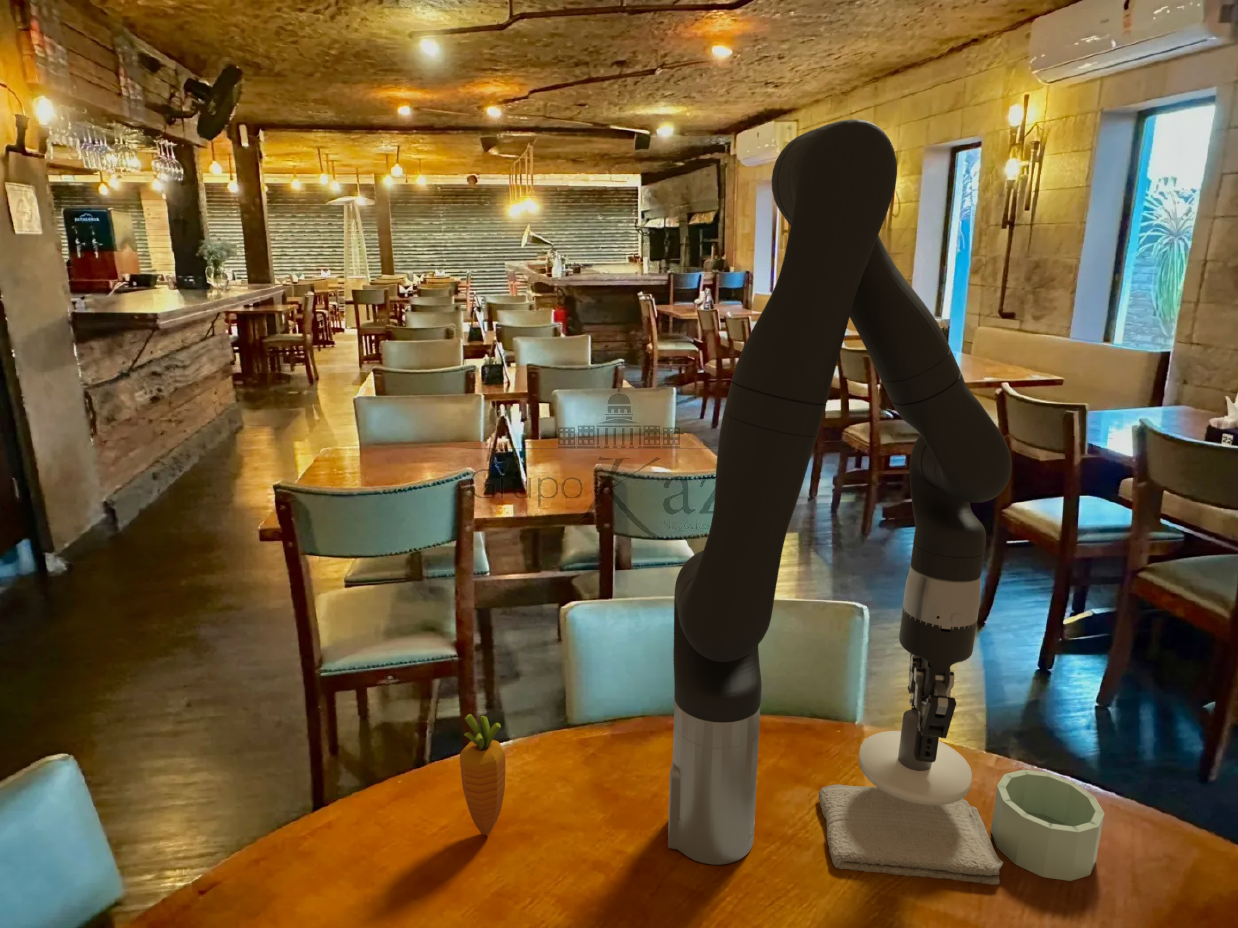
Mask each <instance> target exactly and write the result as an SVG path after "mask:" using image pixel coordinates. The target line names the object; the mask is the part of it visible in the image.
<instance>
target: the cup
mask: <svg viewBox="0 0 1238 928" xmlns="http://www.w3.org/2000/svg"><path fill="white" fill-rule="evenodd" d="M995 792H996V793H995V797H994V798H995V799H994V800H995V801H994V804H993V807H994V808H993V814H992V819H991V820H992V821H991V826H990V827H991V829H990V833H991V835H992V839H993V841H994V844H995V847H996V848H997V849H998V851H1000V852H1001V853H1002V854H1003V855H1004V856H1006V857H1007V858H1008V859H1009V860H1010V861H1011V862H1012V863H1014V864H1015V865H1016V866H1018V867H1020V868H1022V869H1025V870H1027V871H1028V872H1031V873H1033V874H1035V875H1037V876H1039V877H1042V878H1046V879H1055V880H1061V881H1069V882H1072V881H1075V880H1079V879H1081V878H1085V877H1089V876H1091V873H1092V872H1093V869H1094V867H1095V864H1096V862H1097V857H1098V853H1099V852H1098V851H1099V846H1100V841H1101V835H1102V829H1103V824H1104V818H1105V812H1104V810H1103V808H1102V807H1101V805H1100V804H1099V802H1098V800H1097V798H1096V797H1095V796H1094V795H1092V794H1091V793H1090V792H1089V791H1087V790H1086V789H1084V788H1083V787H1082V786H1080V785H1079V784H1077V783H1076V782H1074V781H1072V780H1069V779H1066V778H1064V777H1061V776H1058V775H1056V774H1053V773H1051V772H1048V771H1037V770H1030V769H1020V770H1016V771H1012V772H1009V773H1008V772H1007V773H1005V774H1003V776H1002V777H1001V779H1000V781H999V782H998V784H997V785H996V791H995Z"/></svg>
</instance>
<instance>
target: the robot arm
mask: <svg viewBox="0 0 1238 928" xmlns="http://www.w3.org/2000/svg"><path fill="white" fill-rule="evenodd" d="M897 163H898V161H897V156H896V152H895V149H894V146H893V143H892V141H891V140H890V138H889V137H888V135H887V134H886V133H885V131H884V130H883V129H881V127H879V126H878V125H876V124H875V123H873V122H871V121H867V120H865V119H856V118H855V119H851V118H850V119H844V120H839V121H834V122H832V123H828V124H825V125H822V126H820V127H816V128H815V129H811V130H809V131H806V132H805V133H802V134H800V135H798V136H796V137H795V138H793V139H792V140H791V141H789V142H788V143H787V144H786V145H785V147H783V149H782V150H781V151H780V153H779V155H778V156H777V158H776V160H775V163H774V166H773V169H772V174H771V192H772V196H773V200H774V202H775V205H776V206H777V208H778V210H779V211H780V213H781V215H782V216H783V218H784V219H785V220H786V222H787V223H788V224H789V226H790V228H789V233H788V237H787V242H786V247H785V251H784V256H783V261H782V263H781V268H780V272H779V275H778V277H777V281H776V283H775V286H774V288H773V291H772V293H771V295H770V296H769V299H768V300H767V302H766V304H765V307H764V308H763V310H762V312H761V314H760V315H759V317H758V319H757V320H756V322H755V324H754V326H753V328H752V329H751V332H750V333H749V335H748V337H747V339H746V341H745V343H744V345H743V348H742V349H741V352H740V354H739V357H738V359H737V363H736V365H735V369H734V372H733V374H732V378H731V382H730V386H729V389H728V393H727V396H726V401H725V405H724V410H723V414H722V417H721V423H720V431H719V437H718V445H717V454H716V455H717V457H716V467H715V482H714V484H715V485H714V486H715V487H714V501H713V510H712V511H713V512H712V517H711V523H710V527H709V531H708V534H707V535H708V536H707V539H706V542H705V544H704V547H703V550H700V551H699V552H697V553H695V554H693V555H692V556H691V557H689V558H688V560H687V561H686V562H684V564H683V565H682V567H681V569H680V570H679V572H678V575H677V577H676V581H675V585H674V598H673V599H674V600H673V654H672V655H673V679H674V680H673V681H674V682H673V683H674V686H673V687H674V693H673V694H674V695H673V697H674V698H673V700H674V701H673V735H672V737H673V740H672V744H673V746H672V761H671V765H670V769H669V778H668V779H669V783H668V784H669V785H668V786H669V787H668V789H669V790H668V826H667V827H668V828H667V830H668V834H667V836H668V839H667V847H668V848H669V849H673V850H678V851H679V852H681V853H682V854H683V855H684V856H686V857H687V858H690V859H692V860H694V861H696V862H699V863H702V864H709V865H727V864H732V863H734V862H738V861H740V860H741V859H743V858H744V857H745V856H746V855H747V854H749V852H750V851H751V849H752V847H753V845H754V841H755V840H754V839H755V828H756V826H755V825H756V823H755V822H756V821H755V819H756V803H757V801H756V799H757V783H758V782H757V778H758V761H759V760H758V758H759V744H760V743H759V741H760V722H761V719H760V717H761V704H762V702H761V701H762V687H763V685H762V675H761V667H760V654H759V653H760V651H759V644H761V642H762V641H763V639H764V638H765V635H766V634H767V632H768V630H769V628H770V624H771V620H772V616H773V615H772V614H773V609H774V602H775V598H776V597H775V596H776V589H777V585H778V584H777V583H778V577H779V572H780V566H781V559H782V555H783V549H784V544H785V540H786V537H787V533H788V529H789V526H790V523H791V520H792V517H793V515H794V512H795V509H796V506H797V502H798V501H799V497H800V494H801V492H802V487H803V484H804V480H805V477H806V474H807V472H808V471H807V470H808V469H809V464H810V460H811V457H812V454H813V451H814V447H815V444H816V442H817V438H818V436H819V433H820V430H821V426H822V421H823V418H824V416H825V415H824V414H825V411H826V408H827V403H828V400H829V396H830V392H831V388H832V383H833V380H834V375H835V372H836V369H837V368H836V367H837V364H838V361H839V357H840V355H841V350H842V347H843V345H844V344H843V343H844V340H845V335H846V333H847V328H848V324H849V320H851V322H852V325H853V326H854V328H855V330H856V331H857V334H858V335H859V338H860V339H861V341H862V343H863V345H864V348H865V349H866V352H867V354H868V356H869V358H870V359H871V362H872V364H873V366H874V369H875V370H876V373H877V375H878V378H879V379H880V381H881V383H882V385H883V387H884V389H885V392H886V394H887V396H888V398H889V400H890V402H891V404H892V406H893V408H894V410H895V411H896V413H897V414H898V416H899V417H900V418H901V419H902V420H903V422H905V423H907V424H908V425H909V426H911V427H912V428H913V429H915V430H916V431H917V432H918V433H919V436H917V438H916V441H915V442H914V444H913V447H912V450H911V453H910V458H909V466H908V470H909V471H908V472H909V473H908V474H909V475H908V476H909V488H910V496H911V497H910V498H911V507H912V514H913V518H914V525H915V526H914V527H915V528H914V535H913V543H912V551H911V557H910V565H909V570H908V575H907V578H906V581H905V586H904V593H903V594H904V595H903V601H902V602H903V603H902V611H901V619H900V627H899V628H900V629H899V635H898V640H899V643H900V645H901V647H902V648H903V649H904V650H905V651H906V652H908V653H909V668H908V669H909V671H908V686H907V691H908V693H909V694H910V698H909V701H908V702H909V704H910V707H911V709H910V710H918V722H917V725H916V726H917V734H916V741H915V749H914V756H915V759H916V760H918V761H923V762H935V760H936V755H937V748H938V741H940V740H939V739H947V736H948V734H949V729H950V727H951V723H952V719H953V717H954V713H955V711H956V707H957V700H956V698H955V697H953V696H951V693H952V690H953V688H954V686H955V672H954V671H951V667H952V665H955V664H957V663H963V662H964V661H967V660H969V659H970V657H971V656H972V654H973V652H974V644H975V638H976V632H977V631H976V630H977V624H978V616H979V609H980V603H981V596H982V595H981V594H982V592H981V591H982V588H981V585H982V582H981V580H982V571H983V565H984V559H985V552H986V545H987V543H986V542H987V533H986V529H985V527H984V524H983V523H982V522H981V521H980V520H979V519H978V518H977V516H976V515H975V513H974V512H973V511H972V508H971V503H985V502H988V501H991V500H993V499H995V498H997V497H998V496H999V495H1000V494H1002V493H1003V491H1004V490H1006V488H1007V486H1008V484H1009V482H1010V480H1011V475H1012V471H1013V470H1012V469H1013V468H1012V467H1013V464H1012V461H1013V460H1012V455H1011V451H1010V448H1009V446H1008V444H1007V441H1006V439H1005V437H1004V435H1003V433H1002V432H1001V430H1000V428H999V427H998V425H996V423H995V422H994V420H993V419H992V417H991V416H990V415H989V413H988V412H987V411H986V409H985V407H984V406H983V404H982V403H981V402H980V401H979V400H978V399H977V397H976V396H975V395H974V393H973V392H972V391H971V390H970V389H969V387H968V386H967V383H966V382H965V378H964V377H963V374H962V371H961V369H960V367H959V365H958V362H957V360H956V357H955V355H954V353H953V351H952V348H951V347H950V344H949V341H948V340H947V338H946V335H945V334H944V332H943V330H942V328H941V326H940V325H939V322H938V321H937V320H936V317H934V314H932V313H931V311H930V310H929V308H928V307H927V305H926V304H925V303H924V301H923V300H922V299H921V298H920V296H919V295H918V293H917V292H916V291H915V289H914V288H913V287H912V285H910V283H909V282H908V281H907V280H906V278H905V277H904V275H903V274H902V273H901V271H900V270H899V268H898V267H897V266H896V264H895V263H894V261H893V259H892V257H891V255H890V254H889V253H888V251H887V249H886V247H885V245H884V244H883V241H882V240H881V237H880V235H879V234H880V231H881V229H882V227H883V224H884V222H885V219H886V216H887V213H888V211H889V209H890V206H891V203H892V200H893V197H894V195H895V190H896V185H897V178H898V165H897Z"/></svg>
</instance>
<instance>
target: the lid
mask: <svg viewBox="0 0 1238 928" xmlns="http://www.w3.org/2000/svg"><path fill="white" fill-rule="evenodd" d="M902 714H903V715H902V722H901V730H889V731H888V730H887V731H881V732H876V733H874V734H871V735H870V736H868V737H867V738H865V739H864V740H863V742H862V743H861V745H860V747H859V756H858V763H859V764H858V765H859V768H860V770H861V772H862V774H863V775H864V776H865V777H866V779H867V780H868V782H870V783H872V785H874V787H878V788H879V789H881V790H883V791H884V792H886V793H888V794H890V795H892V796H894V797H897V798H899V799H902V800H905V801H909V802H912V803H917V804H923V805H946V804H951V803H954V802H957V801H959V800H961V799H964V798H965V797H966V796H967V795H968V794H969V792H970V790H971V784H972V780H973V777H972V776H973V773H972V769H971V766H970V765H969V763H968V761H967V760H966V759H965V757H964V756H963V755H961V754H960V752H958V751H957V750H956V749H954V748H953V747H951V746H950V745H948V744H946V743H944V742H942V741H940V740H939V741H938V748H937V755H936V760H935V762H923V761H918V760H916V759H915V756H914V749H915V741H916V734H917V726H916V725H917V722H918V710H911V709H908V710H906V711H904V712H903V713H902Z"/></svg>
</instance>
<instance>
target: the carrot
mask: <svg viewBox="0 0 1238 928" xmlns="http://www.w3.org/2000/svg"><path fill="white" fill-rule="evenodd" d="M479 720H480V723H481V727H482V729H481V727H480V725H479V723H478V721H477V720H476V718H475V717H474V716H473V714H472V713H469V714H467V715H466V716H465V717H464V721H465V722H466V724H467V725H468V726H469V728H470V729H471V730H472V732H473V734H472V733H471V732H470V731H468V732H465V733H464V734H463V736H465V738H467V739H469V740H470V742H469V743H468V744H467V745H465V747H464V748H463V749H462V750H461V751H460V754H459V766H460V775H461V783H462V790H463V794H464V798H465V801H466V804H467V805H466V806H467V809H468V812H469V814H470V817H471V819H472V821H473V823H474V825H475V827H476V829H478V831H479V832H480V834H481V835H484V836H488V835H489V834H490V833H491V832H492V830H493V828H494V826H495V825H496V822H497V821H498V819H499V816H500V813H501V811H502V806H503V801H504V797H505V796H504V795H505V790H506V789H505V788H506V754H505V750H504V749H503V747H502V745H501V744H500V742H499V741H497V740H496V739H495V740H494V738H495V737H496V735H497V733H498V732H499V730H500V729H501V728H502V726H501V724H500V723H499V722H495V723H494V724H493V725H492V726H491V727H490V722H489V720H488V717H487V716H485V715H481V716H479Z"/></svg>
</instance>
